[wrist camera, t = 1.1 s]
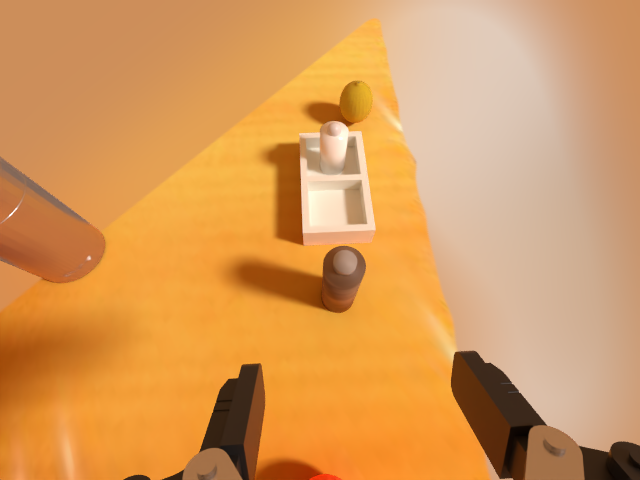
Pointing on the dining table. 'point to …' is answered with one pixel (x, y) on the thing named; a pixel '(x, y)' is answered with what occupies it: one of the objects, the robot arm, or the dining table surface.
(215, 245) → the dining table surface
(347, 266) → the pepper mill
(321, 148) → the salt shaker
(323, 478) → the clementine
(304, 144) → the caddy
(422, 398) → the dining table surface
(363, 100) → the lemon
